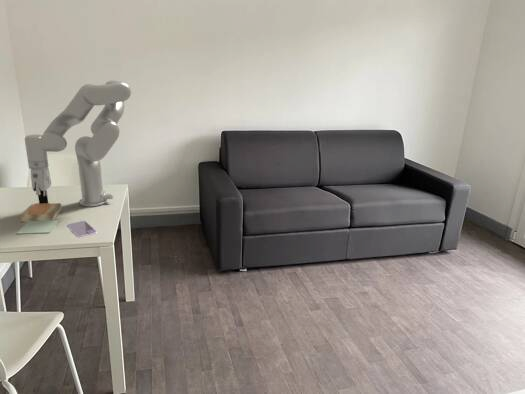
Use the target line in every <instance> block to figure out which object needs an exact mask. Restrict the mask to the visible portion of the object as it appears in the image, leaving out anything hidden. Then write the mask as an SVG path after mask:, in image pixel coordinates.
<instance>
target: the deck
mask: <svg viewBox="0 0 525 394" xmlns="http://www.w3.org/2000/svg"><path fill="white" fill-rule="evenodd" d="M34 204H35V203H31V204H30V205H29V206H28V207H27V208H26V209H25V210H23V211H22V213H21V214H19V217H20V222H21V223H27V222H28V221H48V220H55V218H56V217H57V216H58V215H59V214H60V212H61V211H62V203H61V202H60V203H58V202H57V203H50V208H49V209H48V210H47V211H46V213H45V214H44V215H28V210H29V209H30V208H31V207H32V206H33V205H34Z"/></svg>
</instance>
